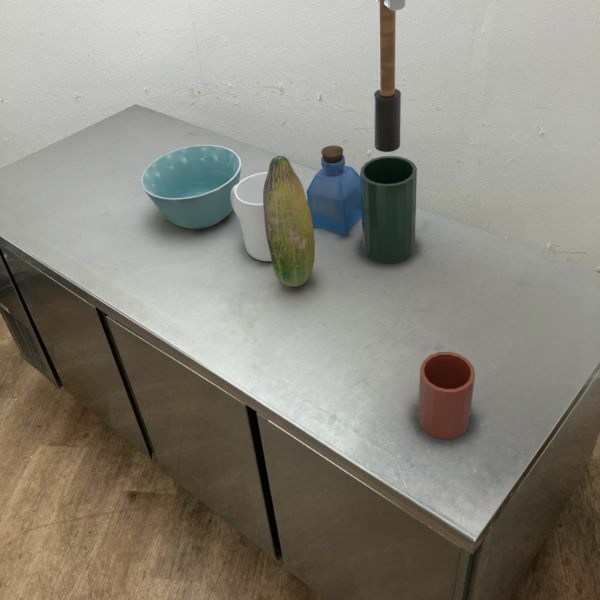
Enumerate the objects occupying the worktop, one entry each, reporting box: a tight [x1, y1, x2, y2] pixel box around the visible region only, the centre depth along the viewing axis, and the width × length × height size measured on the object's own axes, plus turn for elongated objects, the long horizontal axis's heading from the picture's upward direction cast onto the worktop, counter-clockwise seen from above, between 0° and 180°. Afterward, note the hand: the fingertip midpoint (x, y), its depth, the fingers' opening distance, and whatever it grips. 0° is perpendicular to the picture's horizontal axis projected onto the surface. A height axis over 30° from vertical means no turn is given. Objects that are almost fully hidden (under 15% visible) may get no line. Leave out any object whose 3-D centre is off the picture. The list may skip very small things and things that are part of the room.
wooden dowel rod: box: [373, 0, 402, 153], centre depth 75 cm, size 3×3×22 cm
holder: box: [417, 351, 476, 440], centre depth 69 cm, size 5×5×8 cm
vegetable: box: [263, 155, 316, 288], centre depth 83 cm, size 6×6×20 cm
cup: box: [359, 155, 418, 265], centre depth 90 cm, size 7×8×13 cm
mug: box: [230, 171, 272, 262], centre depth 95 cm, size 12×8×10 cm
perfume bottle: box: [305, 144, 362, 236], centre depth 97 cm, size 6×6×12 cm
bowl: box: [140, 144, 242, 230], centre depth 103 cm, size 16×16×8 cm
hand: (387, 3), depth 70 cm, fingers closed on wooden dowel rod, 2 cm apart
